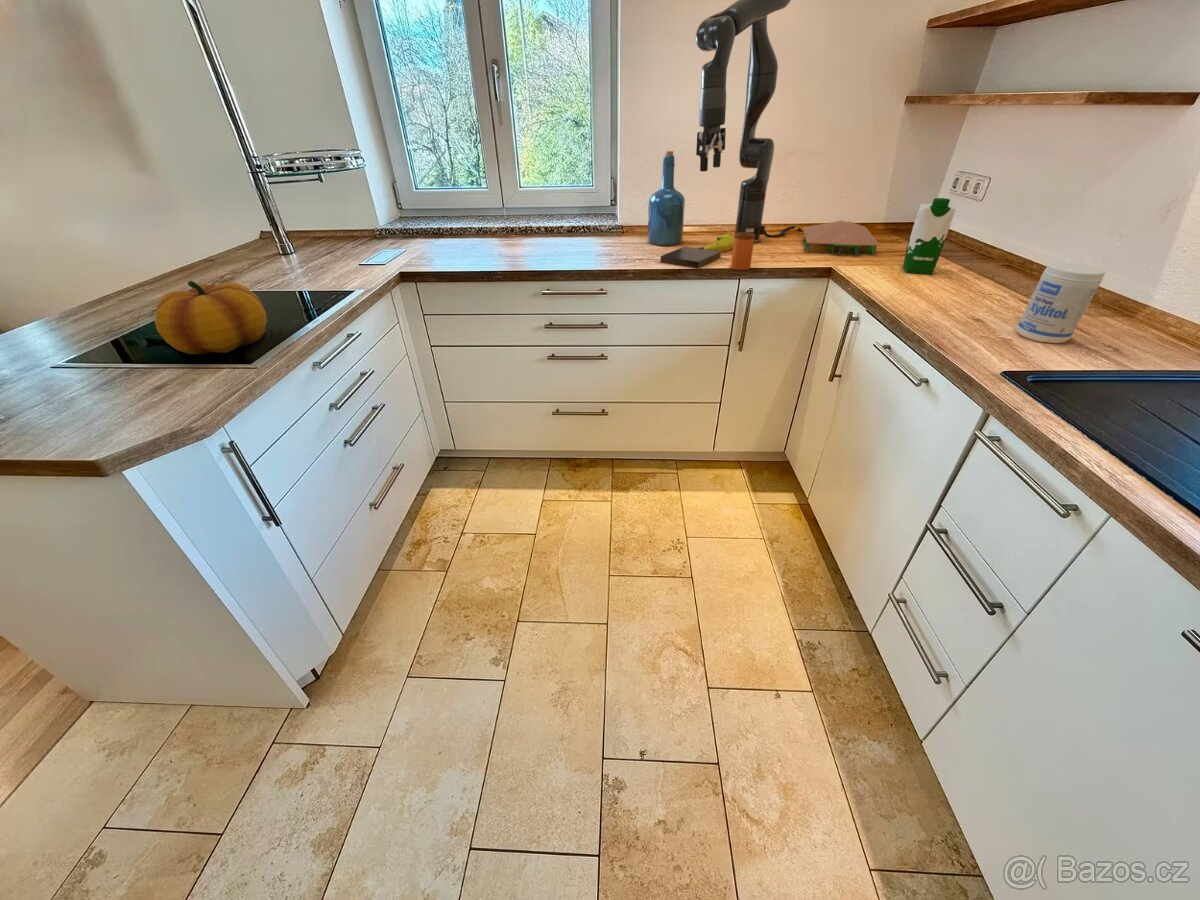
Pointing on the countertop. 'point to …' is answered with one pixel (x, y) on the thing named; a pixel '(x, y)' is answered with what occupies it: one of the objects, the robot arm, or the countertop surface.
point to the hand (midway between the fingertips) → (710, 169)
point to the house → (840, 236)
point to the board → (690, 257)
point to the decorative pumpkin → (210, 318)
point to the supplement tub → (1059, 301)
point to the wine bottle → (666, 208)
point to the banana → (721, 243)
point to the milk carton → (928, 236)
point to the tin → (742, 251)
